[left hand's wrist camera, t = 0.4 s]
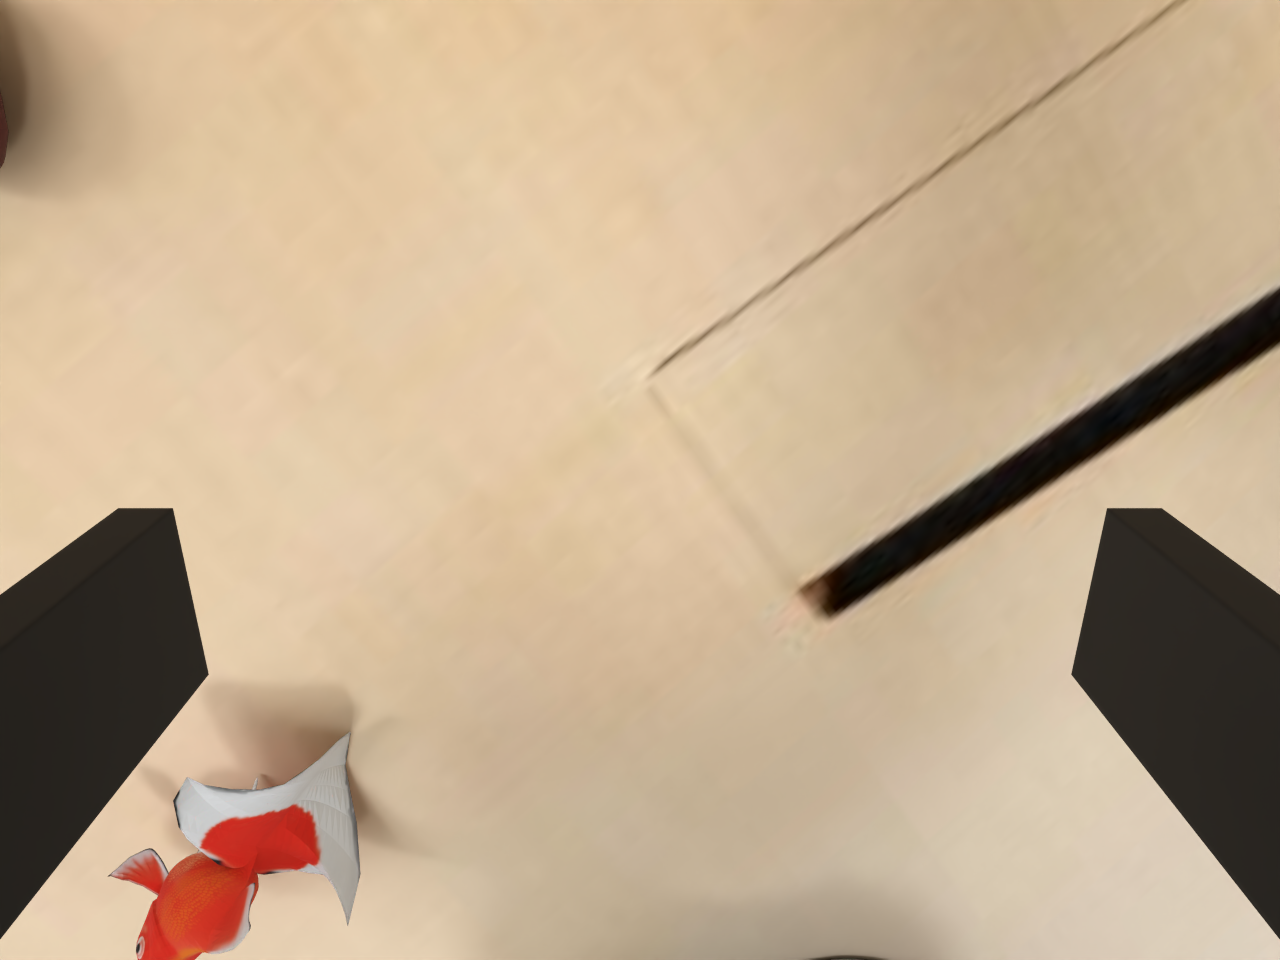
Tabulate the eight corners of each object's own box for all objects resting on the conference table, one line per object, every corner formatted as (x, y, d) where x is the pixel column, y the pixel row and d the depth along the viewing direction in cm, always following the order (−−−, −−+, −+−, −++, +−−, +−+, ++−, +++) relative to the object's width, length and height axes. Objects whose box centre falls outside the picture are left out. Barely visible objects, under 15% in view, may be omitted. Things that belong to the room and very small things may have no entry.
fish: (17, 839, 44) (15, 1008, 37) (282, 637, 47) (331, 753, 40) (169, 920, 51) (194, 1077, 43) (392, 738, 54) (452, 854, 47)
